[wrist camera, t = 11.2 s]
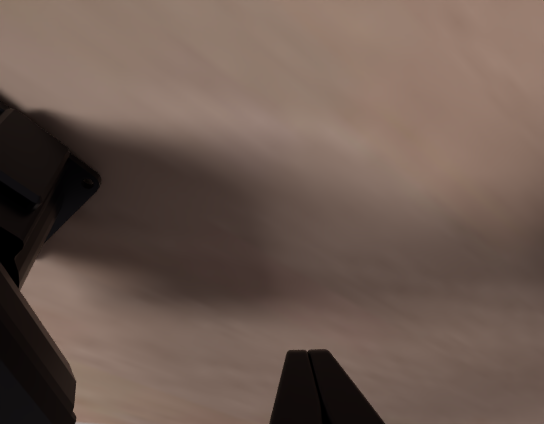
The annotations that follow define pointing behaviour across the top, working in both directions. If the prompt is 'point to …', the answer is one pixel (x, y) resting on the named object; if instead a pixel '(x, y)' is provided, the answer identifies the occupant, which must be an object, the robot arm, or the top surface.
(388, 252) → the top surface
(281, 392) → the robot arm
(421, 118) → the top surface
